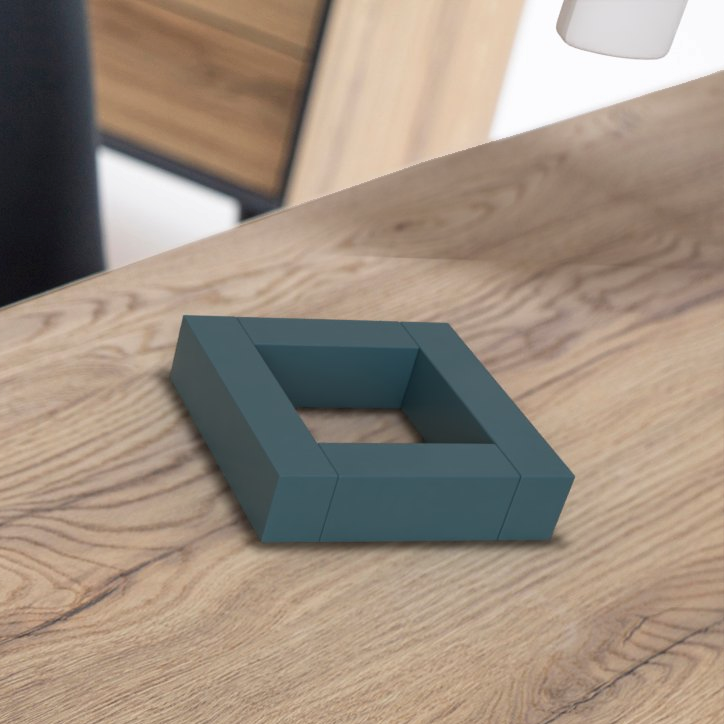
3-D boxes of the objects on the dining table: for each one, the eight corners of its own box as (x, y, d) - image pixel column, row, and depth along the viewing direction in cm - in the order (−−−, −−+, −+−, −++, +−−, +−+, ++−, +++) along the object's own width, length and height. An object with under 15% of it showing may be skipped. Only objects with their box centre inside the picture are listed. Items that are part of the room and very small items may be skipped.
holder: (423, 397, 82) (448, 321, 80) (544, 557, 73) (576, 476, 70) (165, 394, 79) (182, 314, 76) (256, 560, 69) (279, 475, 67)
